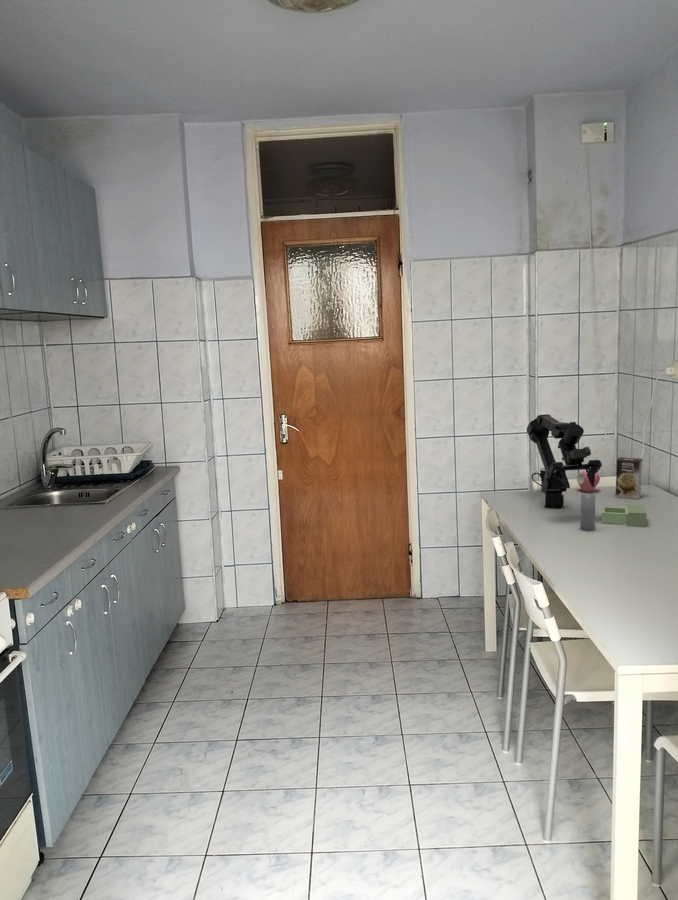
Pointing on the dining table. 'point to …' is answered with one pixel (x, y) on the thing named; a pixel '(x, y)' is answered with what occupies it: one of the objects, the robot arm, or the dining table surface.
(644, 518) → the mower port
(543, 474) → the coffee mug
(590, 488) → the apple
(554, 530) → the dining table surface
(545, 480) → the robot arm
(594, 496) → the grey rounded post
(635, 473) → the brown cookie box
